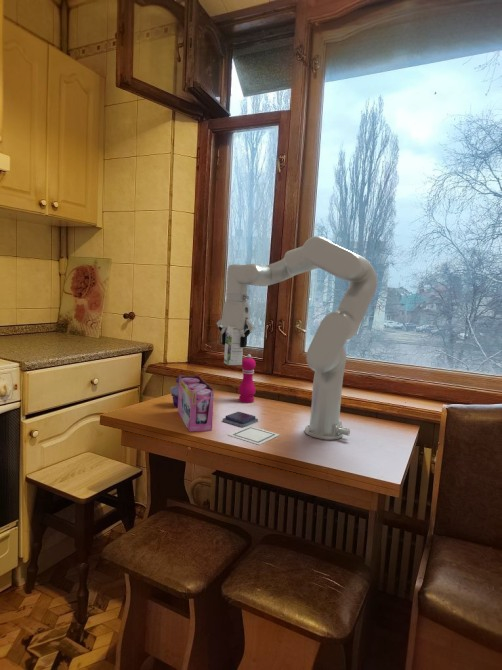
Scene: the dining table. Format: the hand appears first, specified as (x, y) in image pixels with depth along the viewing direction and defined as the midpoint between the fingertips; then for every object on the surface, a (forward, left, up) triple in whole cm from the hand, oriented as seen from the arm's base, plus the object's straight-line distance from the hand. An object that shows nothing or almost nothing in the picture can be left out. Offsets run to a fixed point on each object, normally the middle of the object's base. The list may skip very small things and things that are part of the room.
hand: (233, 345), depth 152 cm
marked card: (-21, +14, -26) cm, 36 cm away
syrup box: (0, 0, -7) cm, 7 cm away
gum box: (+3, +17, -26) cm, 31 cm away
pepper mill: (+5, -18, -26) cm, 32 cm away
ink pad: (-9, +6, -26) cm, 28 cm away
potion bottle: (+19, +7, -26) cm, 33 cm away
